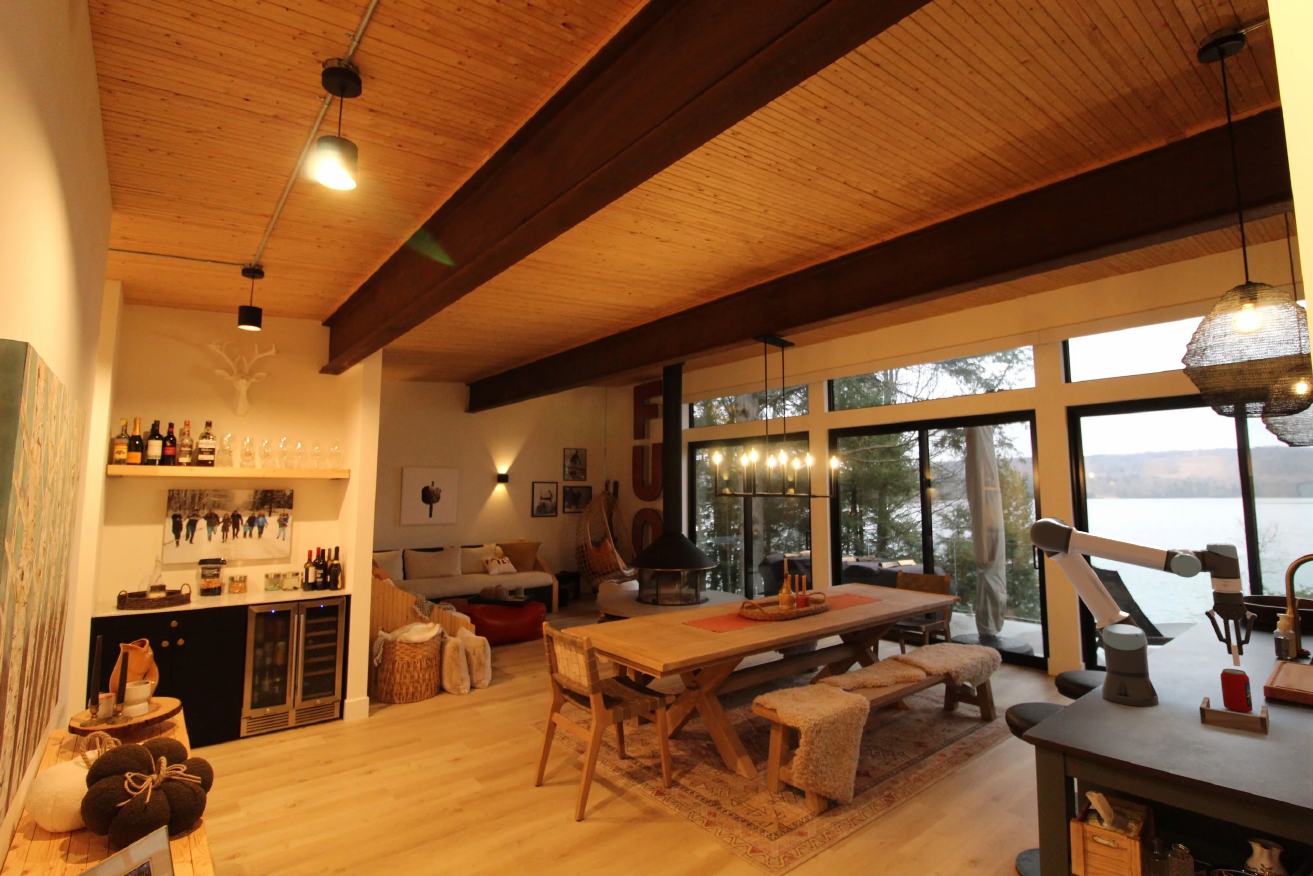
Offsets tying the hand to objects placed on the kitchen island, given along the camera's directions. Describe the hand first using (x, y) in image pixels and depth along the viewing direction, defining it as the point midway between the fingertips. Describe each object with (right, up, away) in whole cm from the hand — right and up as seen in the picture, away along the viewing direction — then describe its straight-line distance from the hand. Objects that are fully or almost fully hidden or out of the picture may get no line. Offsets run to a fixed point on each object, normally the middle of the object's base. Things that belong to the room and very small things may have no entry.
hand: (1237, 665), depth 208 cm
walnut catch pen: (-16, -11, -17) cm, 26 cm away
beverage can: (-6, -12, -7) cm, 15 cm away
